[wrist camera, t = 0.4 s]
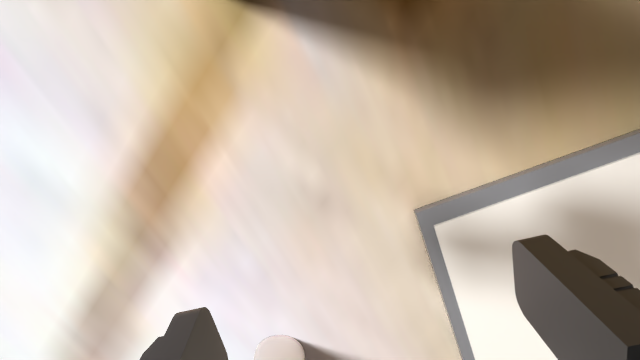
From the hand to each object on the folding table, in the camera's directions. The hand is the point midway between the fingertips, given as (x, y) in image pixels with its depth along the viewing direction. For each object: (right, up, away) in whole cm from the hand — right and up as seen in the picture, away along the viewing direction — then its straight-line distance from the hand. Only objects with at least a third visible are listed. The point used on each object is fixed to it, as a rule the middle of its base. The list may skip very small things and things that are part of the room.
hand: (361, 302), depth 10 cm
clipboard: (+23, -4, +22) cm, 32 cm away
